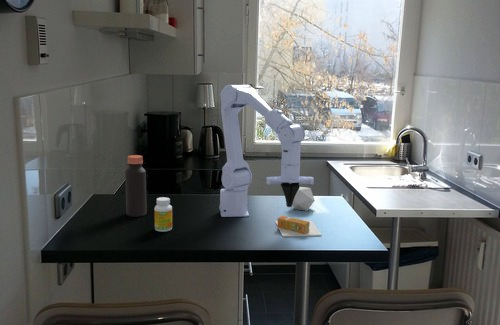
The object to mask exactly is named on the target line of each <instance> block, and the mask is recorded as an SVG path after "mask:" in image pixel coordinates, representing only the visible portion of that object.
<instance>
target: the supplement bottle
mask: <svg viewBox="0 0 500 325" xmlns="http://www.w3.org/2000/svg"><path fill="white" fill-rule="evenodd" d="M170 203H171V198H169V197H164V196H162V197H161V196H160V197H157V198H156V205H155V206H154V209H153V210H154V230H155V231H157V232H162V233H163V232H164V233H165V232H169V231H171V230H172V229H173V206H172V205H171V204H170Z"/></svg>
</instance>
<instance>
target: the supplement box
mask: <svg viewBox="0 0 500 325" xmlns="http://www.w3.org/2000/svg"><path fill="white" fill-rule="evenodd" d="M277 221H278V226H277V228H278V229H279V228H282V229H286V230H290V231H294V232H298V233H302V234H305V233H307V232H309V225H310V222H309V221H305V220H304V219H300V218H294V217H290V216H286V215H282V216H279V217H277Z"/></svg>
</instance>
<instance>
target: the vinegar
mask: <svg viewBox="0 0 500 325" xmlns="http://www.w3.org/2000/svg"><path fill="white" fill-rule="evenodd" d="M143 159H144V158H143V155H139V154H134V155H133V154H131V155H128V156H127V165H128V167H127V168H126V169H125V171H124V173H125V174H124V175H125V176H124V178H125V179H124V180H125V207H126V208H125V209H126V210H125V211H126V216H128V217H131V218H132V217H133V218H138V217H144V216H146V215H147V213H148V212H147V211H148V209H147V208H148V206H147V203H148V202H147V173H146V172H147V170H146V169H145V168H144V167H143V162H144V160H143Z"/></svg>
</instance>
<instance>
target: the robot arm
mask: <svg viewBox="0 0 500 325" xmlns="http://www.w3.org/2000/svg"><path fill="white" fill-rule="evenodd" d="M220 100H221V101H220V103H221V108H220V111H221V112H220V113H221V120H222V128H223V135H224V136H223V137H224V144H225V145H224V146H225V151H226V163H225V164H224V165H223V166H222V167H221V170H222V173H221V183H222V186H223V187H224V188H221V189H220V190H219V192H220V195H219V196H220V197H219V201H220V202H219V206H218V207H219V211H220V212H219V213H220V217H221V218H222V217H223V218H226V217H227V218H228V217H229V218H230V217H234V218H235V217H239V218H240V217H249V216H250V214H249V211H248V189H249V187H250V184H252V182H253V174H252V171H251V169H250V165H249V163H248V162H247V161H246V160H244V156H243V155H244V153H243V147H242V137H241V128H240V122H239V113H240V112H241V111H242V109H243V108H245V107H247V106H249V107H250V108H252V109H254V110H255V111H256V112H257V113H258V114H260V115H261V116H263V118H264V123H265V124H266V125H267V126H268V127H269V128H270V129H272V131H274V132H275V133H276V134H277V138H278V140H279V142H280V148H281V164H280V168H281V169H280V175H278V176H266V179H265V180H266V182H265V183H266V185H280V187H281V189H282V192H283V194H284V198H285V204H286V205H285V206H286V207H287V208H293V206H292V204H293V200H294V198H295V195H296V193H297V191H298V190H299V187H301V186H300V185H305V184H307V185H309V184H310V185H314V180H315V178H314V177H313V176H302V175H301V176H300V174H301V173H300V172H301V171H300V170H301V169H300V168H301V151H302V150H301V148H302V142H303V140H304V139H305V137H306V132H305V129H304V127H303V126H302V124H300V123H294V122H293V120H292V119H289V118H288V117H287V116H286V115H285V114H284V112H283V111H282V110H281V109H277V108H275V109H273V108H272V107H270V106H269V104H267V102H266V101H265V100H263V99H262V98H261V96H260V95H259V94H258V93H257V90H256V89H255V88H253V87H252V85H250V84H248V83H247V84H227V85H225V86H224V87H223V88H222V90H221V91H220Z"/></svg>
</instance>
